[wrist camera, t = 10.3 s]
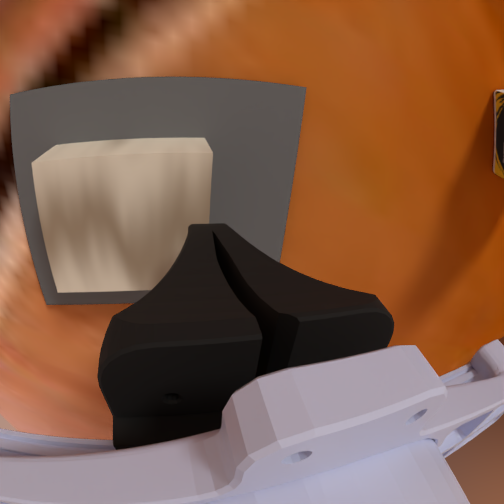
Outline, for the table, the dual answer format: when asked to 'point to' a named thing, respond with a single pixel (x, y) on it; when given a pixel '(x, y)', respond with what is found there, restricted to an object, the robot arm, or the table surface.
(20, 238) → the table surface
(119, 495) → the robot arm
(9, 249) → the table surface
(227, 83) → the mat
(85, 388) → the table surface
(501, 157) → the medicine bottle
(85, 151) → the slab
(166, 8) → the table surface
